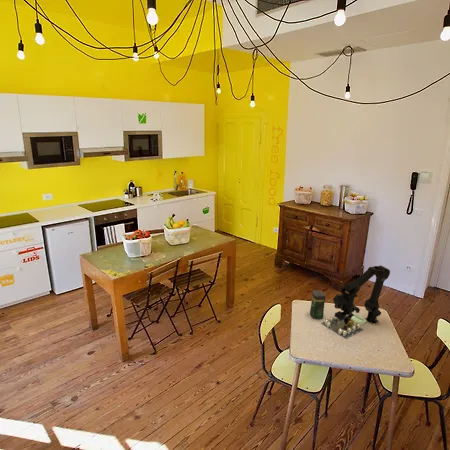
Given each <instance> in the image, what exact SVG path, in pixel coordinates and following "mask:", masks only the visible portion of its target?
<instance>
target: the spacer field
mask: <svg viewBox="0 0 450 450" xmlns="http://www.w3.org/2000/svg"><path fill="white" fill-rule="evenodd" d="M320 324H321V325H323V326H324V327H326V328H327V329H329V330H331V331H332V332H334V333H336V334H338V335H339V336H340V337H342V338H343V339H345V340H347V339H349V338H352V337H354V336H355V335H358V334H359V333H361V332H362V331H364V329H362V328H361V326H360V323H357V324H356V325H354V324H353V325H348V324H345V323H344V320H341V319H339V318H337V317H335V314H333V316H330V317H329V319H328V318H325V319H324V321H323V322H321V323H320Z"/></svg>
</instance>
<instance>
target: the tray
mask: <svg viewBox="0 0 450 450" xmlns="http://www.w3.org/2000/svg"><path fill="white" fill-rule="evenodd" d="M352 314H354V316H353V317H352V318H351V319H353V320H354V325H356V324H357V323H360V327H361V326H363V325H364V324H367V322H368V321H367V320H365V319H366V318H364V317H362V316H360V315H358V314H357V313H354V312H352Z"/></svg>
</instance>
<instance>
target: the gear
mask: <svg viewBox="0 0 450 450" xmlns="http://www.w3.org/2000/svg"><path fill="white" fill-rule="evenodd" d="M347 324H348V325H353V324H354V320H353V319H350V320H349V322H348V323H347Z"/></svg>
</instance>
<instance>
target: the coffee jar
mask: <svg viewBox="0 0 450 450" xmlns="http://www.w3.org/2000/svg"><path fill="white" fill-rule="evenodd" d="M326 297H327V296H326V294H325V293H324V292H323V291H321V290H319V289H315V290H313V291H312V293H311V303H310V309H309V315H310V316H311V318H312V319H314V320H323V318H324V313H325V303H326Z"/></svg>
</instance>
